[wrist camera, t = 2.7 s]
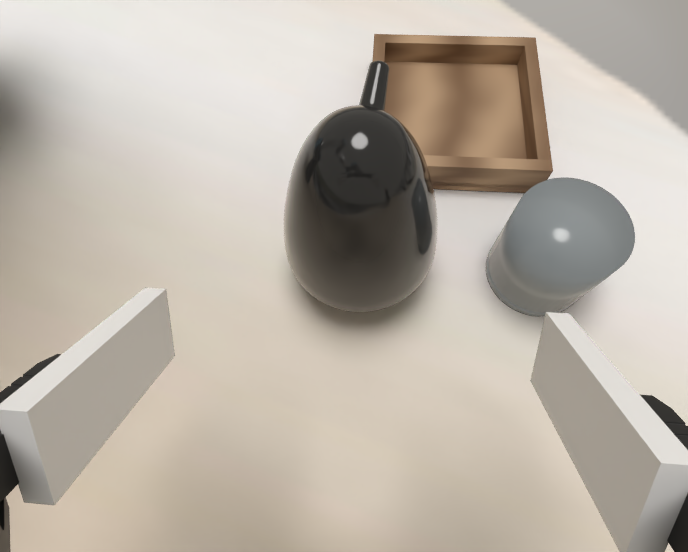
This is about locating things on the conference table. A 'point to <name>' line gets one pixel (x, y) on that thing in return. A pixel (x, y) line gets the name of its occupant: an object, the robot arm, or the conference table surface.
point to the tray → (470, 108)
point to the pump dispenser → (361, 206)
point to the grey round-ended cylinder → (558, 246)
